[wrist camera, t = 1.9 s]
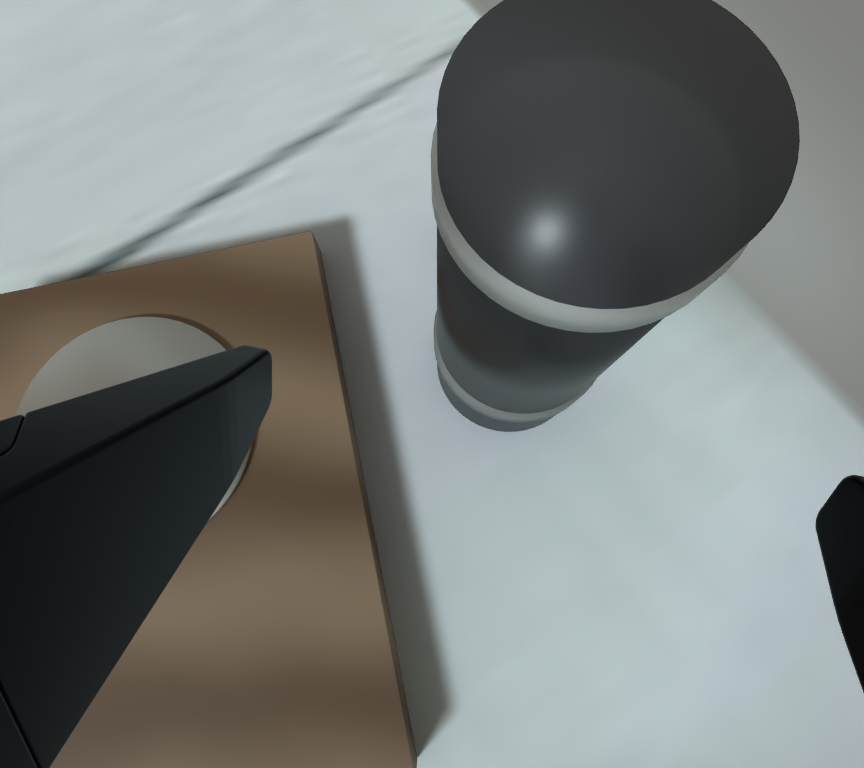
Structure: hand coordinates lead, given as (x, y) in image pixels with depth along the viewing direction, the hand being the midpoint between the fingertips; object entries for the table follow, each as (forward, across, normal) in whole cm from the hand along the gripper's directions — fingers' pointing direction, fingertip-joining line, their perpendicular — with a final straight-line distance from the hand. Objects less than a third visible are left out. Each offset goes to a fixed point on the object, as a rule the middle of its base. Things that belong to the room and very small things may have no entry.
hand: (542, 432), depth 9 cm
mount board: (+6, +10, +10) cm, 15 cm away
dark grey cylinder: (+11, 0, +5) cm, 12 cm away
